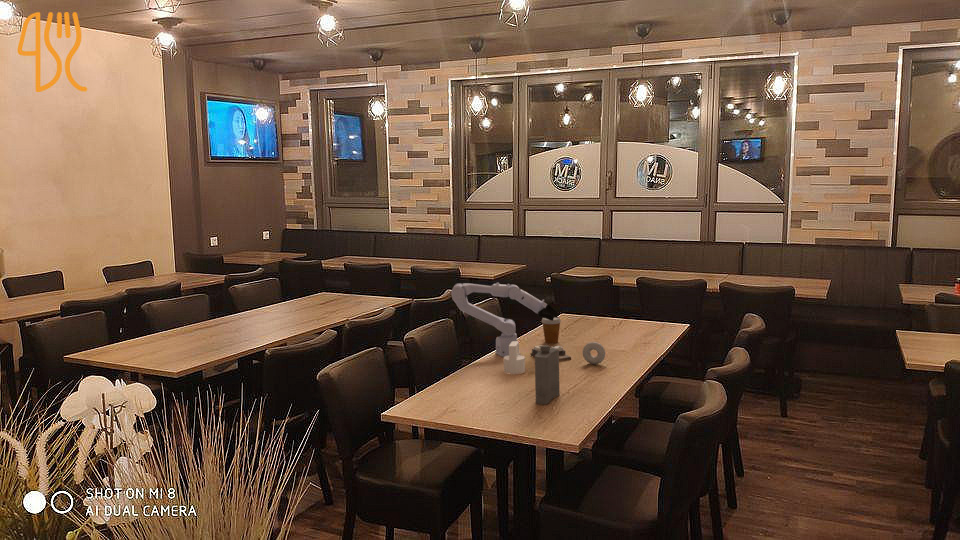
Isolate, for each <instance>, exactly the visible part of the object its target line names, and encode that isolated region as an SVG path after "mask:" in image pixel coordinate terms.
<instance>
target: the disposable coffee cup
mask: <svg viewBox="0 0 960 540" xmlns="http://www.w3.org/2000/svg"><path fill="white" fill-rule="evenodd" d="M541 318H542V317H541ZM561 322H562V319H561V318H560V317H559V316H558V317H557V318H556V317H554V319H553V321H552V320H549V319H546V318H542V319H541V323H542V329H543V335H544V337H543V338H544V342H546V344H549V343H551V344H552V343H554V344H557V343H559V338H560V337H559V335H560V327H561Z"/></svg>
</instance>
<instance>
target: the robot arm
mask: <svg viewBox="0 0 960 540" xmlns="http://www.w3.org/2000/svg"><path fill="white" fill-rule="evenodd" d="M450 292H451V299H452V301H453V302H454V303H455V304H456V306H457V308H458V309H459V310H460V312H463V313H465V314H467V315H469V316H471V317H473V318H475V319H477V320H480V321H482V322H484V323H486V324H487V325H489V326H492V327H494V328H495V329H496V330H498V331H500V332H501V335H500V336H497V337H496V339H495V354H496V355H498V356H499V357H502V358H504V357H505V356H508V355H509V345H510V343H511V342H512V341H518V335H517V333H516V331H517V330H516V328H517V327H516V323H515V321H514V320H513V319H512V318H511V319H510V318H504V317H500V316H497V314H496V315H495V314H494V313H491V312H489V311H487V310H485V309H484V308H481V307H479V306H476V305H474V304H473V303H470V302H469V300H468V295H471V294H472V293H482V294H484V293H485V294H491V296H492V297H500V298H509V299H510V300H515V301H517V302H518V303H520V304H522V305H523V306H524V307H526V308H528V309H529V310H532V311H533V312H534V313H535V314H537V316H536V317H538V318H546V319H549V320H552V321H553V319H554V317H556V318H557V317H559V316H560V312H558V311H557V310H556V309H555V308H554V307H553V306H552V304H551V302H547V303H546V302H545V299H542V300H540V299H539V298H537V297H536V296H533V295H532V294H530V293H528V292H527V291H525V290H524V289H521V288H520V287H519V286H518V285H516V284H510V283H507V284H501V283H500V282H496V283H493V284H491V285H485V284H478V283H469V282H467V283H466V282H465V283H461V282H459V283H455V284H454V285H453V287H452V288H451V291H450ZM519 355H521V353H520V352H519Z"/></svg>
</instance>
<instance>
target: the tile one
mask: <svg viewBox="0 0 960 540" xmlns="http://www.w3.org/2000/svg"><path fill="white" fill-rule="evenodd" d="M542 345H543V344H542ZM542 345H534V348H533V349H534V350H536V351H541V350H540V347H541V346H542Z"/></svg>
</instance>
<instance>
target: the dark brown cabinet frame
mask: <svg viewBox="0 0 960 540" xmlns="http://www.w3.org/2000/svg"><path fill="white" fill-rule="evenodd" d="M538 352H540V351H536V350H534V348H532V349H531V353H529V354H530V355H531V356H530V357H532V356H533V358H534V359H535V355H536V354H537V353H538ZM570 360H572V357H571V356H570V355H568V354H567V353H566V350H564V349H563V351H559V362H562V361H563V362H565V361H570Z"/></svg>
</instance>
